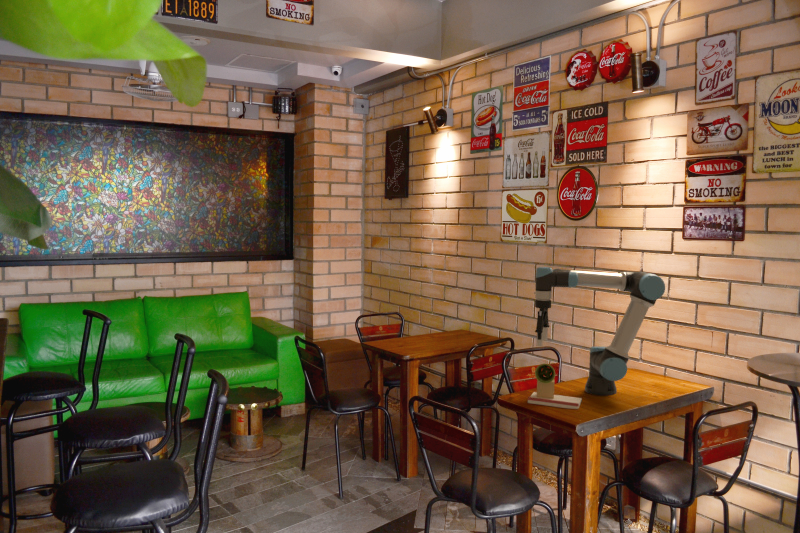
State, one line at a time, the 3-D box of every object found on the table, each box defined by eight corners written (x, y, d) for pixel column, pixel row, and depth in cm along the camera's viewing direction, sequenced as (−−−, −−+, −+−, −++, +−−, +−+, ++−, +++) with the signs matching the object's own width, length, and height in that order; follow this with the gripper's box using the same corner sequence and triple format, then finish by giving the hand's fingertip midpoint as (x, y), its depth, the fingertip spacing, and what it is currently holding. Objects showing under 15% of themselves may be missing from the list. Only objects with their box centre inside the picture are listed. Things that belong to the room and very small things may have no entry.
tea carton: (537, 380, 284) (536, 397, 285) (554, 382, 282) (553, 398, 283) (537, 378, 289) (536, 394, 290) (554, 379, 287) (553, 395, 288)
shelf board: (581, 401, 285) (581, 395, 284) (578, 409, 272) (578, 403, 271) (533, 394, 294) (533, 389, 293) (527, 402, 281) (528, 397, 281)
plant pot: (551, 384, 288) (550, 386, 280) (533, 376, 291) (531, 378, 283) (559, 367, 288) (558, 368, 280) (541, 359, 291) (539, 360, 283)
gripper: (539, 295, 296) (538, 337, 298) (530, 302, 273) (529, 347, 275) (555, 296, 293) (554, 339, 295) (546, 303, 270) (545, 349, 272)
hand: (542, 343), depth 285 cm, fingers open, 13 cm apart
